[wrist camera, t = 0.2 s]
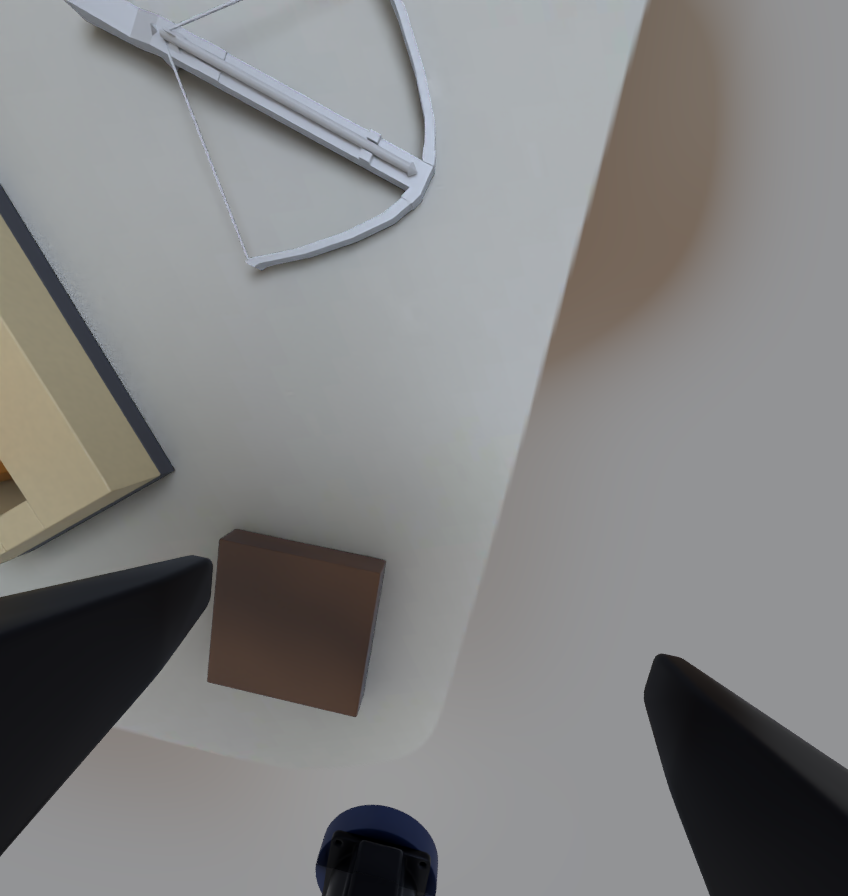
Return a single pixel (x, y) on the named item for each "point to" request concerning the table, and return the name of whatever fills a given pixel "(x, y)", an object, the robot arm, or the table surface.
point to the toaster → (58, 407)
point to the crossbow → (282, 110)
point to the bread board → (294, 620)
